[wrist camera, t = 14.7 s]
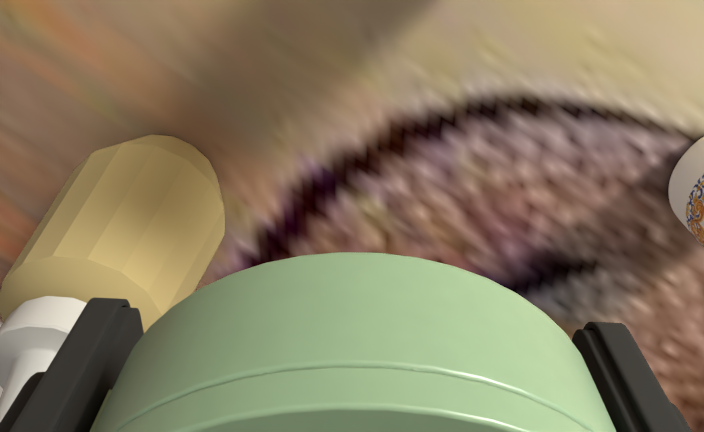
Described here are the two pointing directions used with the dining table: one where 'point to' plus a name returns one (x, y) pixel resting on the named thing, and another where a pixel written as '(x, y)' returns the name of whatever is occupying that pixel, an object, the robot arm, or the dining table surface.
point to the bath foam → (689, 190)
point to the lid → (354, 355)
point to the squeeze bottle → (110, 248)
